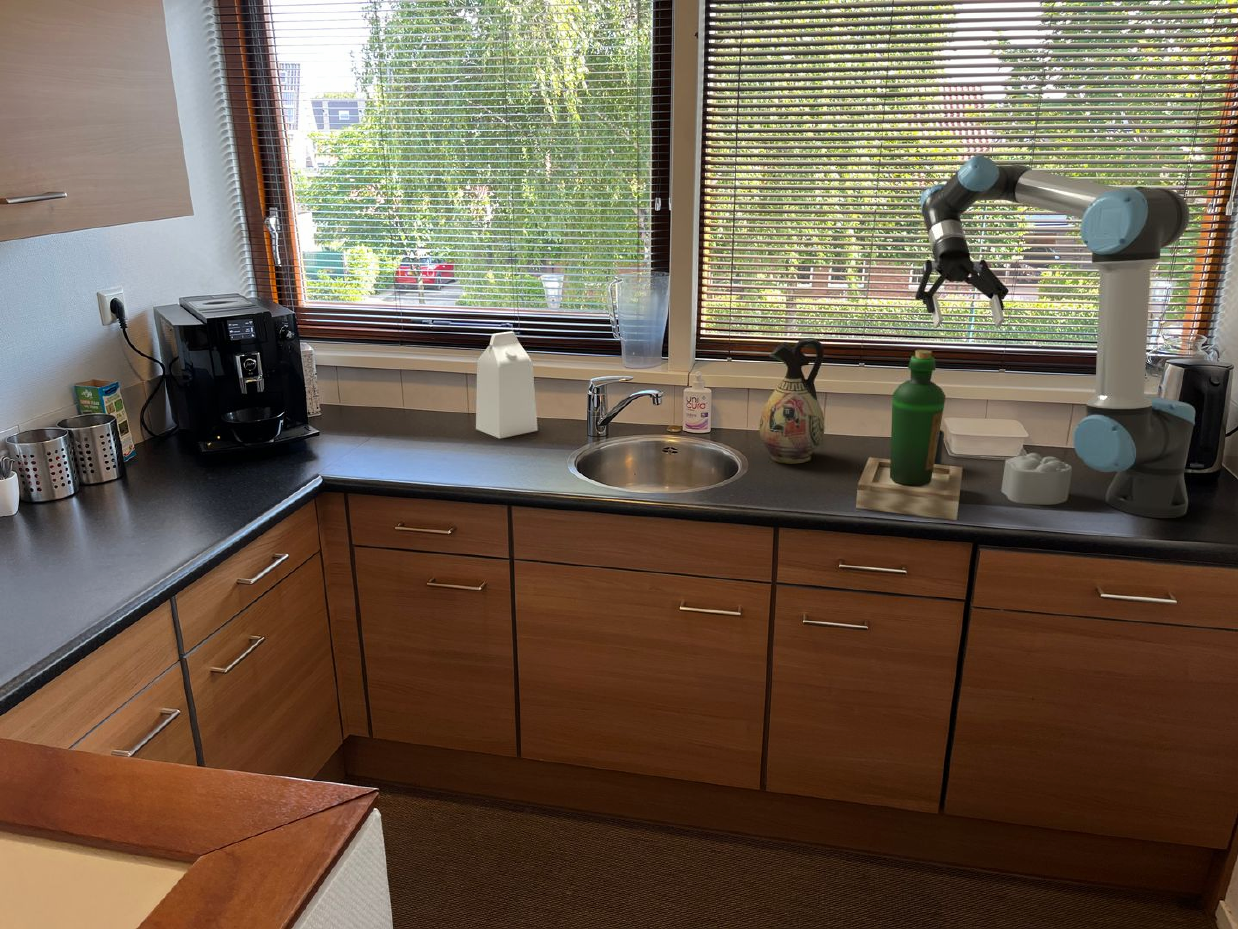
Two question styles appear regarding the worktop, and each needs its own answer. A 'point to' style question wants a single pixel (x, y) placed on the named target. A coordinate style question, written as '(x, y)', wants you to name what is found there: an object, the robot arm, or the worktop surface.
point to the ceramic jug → (794, 407)
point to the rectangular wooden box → (910, 491)
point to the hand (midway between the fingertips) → (969, 323)
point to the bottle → (916, 423)
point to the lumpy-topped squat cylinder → (1036, 479)
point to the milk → (505, 389)
